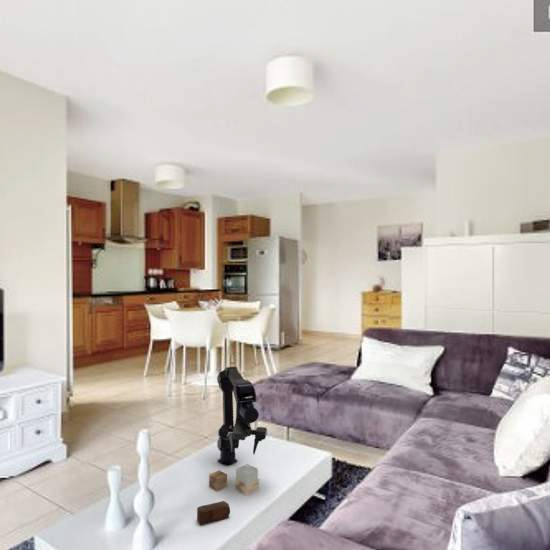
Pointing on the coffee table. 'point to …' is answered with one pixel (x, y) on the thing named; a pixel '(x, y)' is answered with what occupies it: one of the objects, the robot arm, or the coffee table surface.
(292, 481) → the coffee table surface
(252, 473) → the tower top
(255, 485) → the tower base
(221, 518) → the brick
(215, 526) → the coffee table surface
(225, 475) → the walnut block
